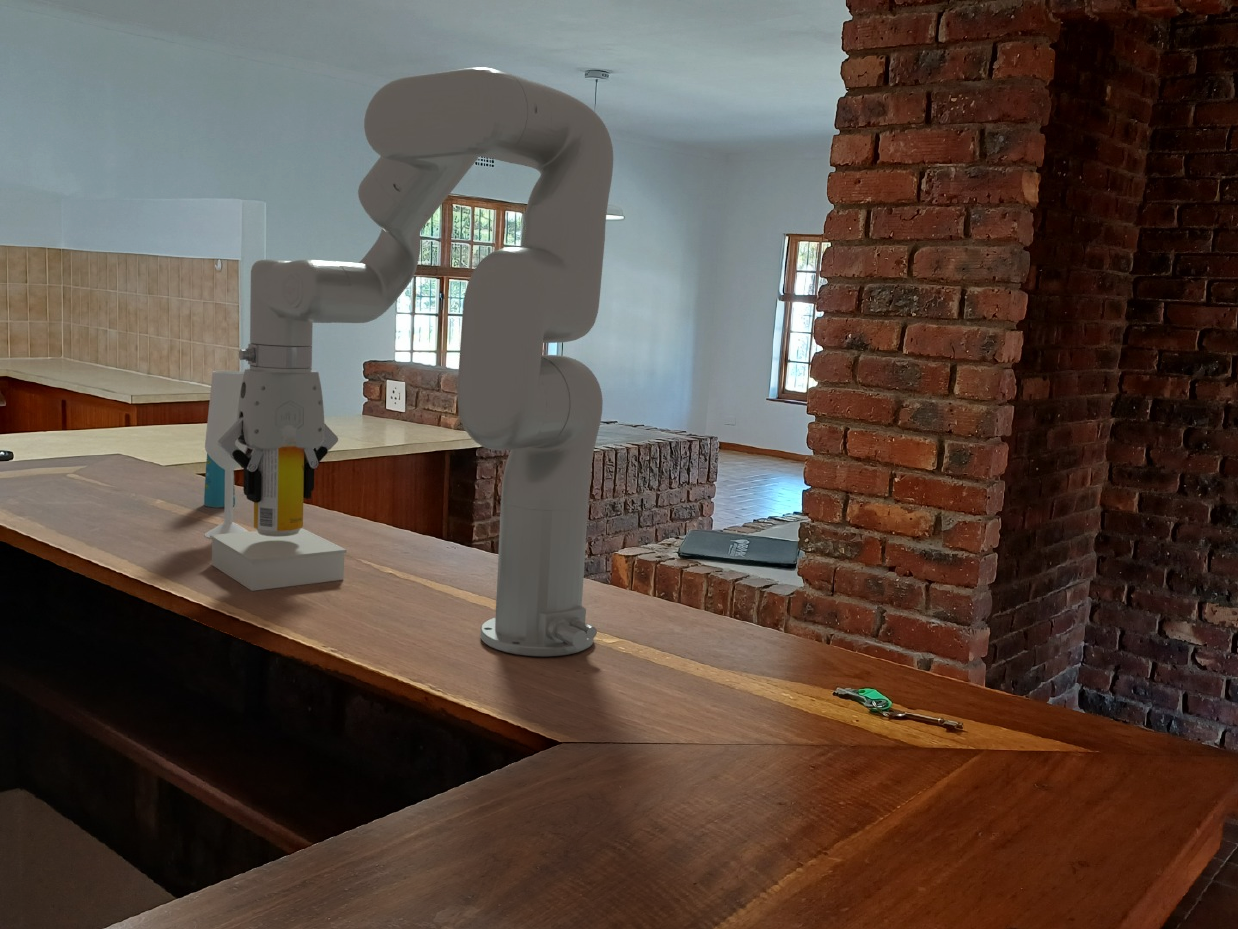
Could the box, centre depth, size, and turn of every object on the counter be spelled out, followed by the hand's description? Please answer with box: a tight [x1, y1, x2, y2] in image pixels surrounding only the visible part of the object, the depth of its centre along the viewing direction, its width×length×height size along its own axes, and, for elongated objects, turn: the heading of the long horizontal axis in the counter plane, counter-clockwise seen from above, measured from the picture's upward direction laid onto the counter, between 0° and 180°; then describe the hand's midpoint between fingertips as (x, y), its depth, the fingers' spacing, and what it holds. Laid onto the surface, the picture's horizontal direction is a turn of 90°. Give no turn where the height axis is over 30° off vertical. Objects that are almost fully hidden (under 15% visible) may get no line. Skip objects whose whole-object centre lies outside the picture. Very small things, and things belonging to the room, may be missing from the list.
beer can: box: [253, 425, 304, 537], centre depth 140 cm, size 6×6×15 cm
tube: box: [203, 452, 236, 509], centre depth 179 cm, size 7×5×19 cm, turn 28°
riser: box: [209, 527, 347, 592], centre depth 142 cm, size 14×12×4 cm
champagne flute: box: [204, 370, 250, 539], centre depth 159 cm, size 7×7×24 cm
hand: (279, 497), depth 140 cm, fingers closed on beer can, 6 cm apart
